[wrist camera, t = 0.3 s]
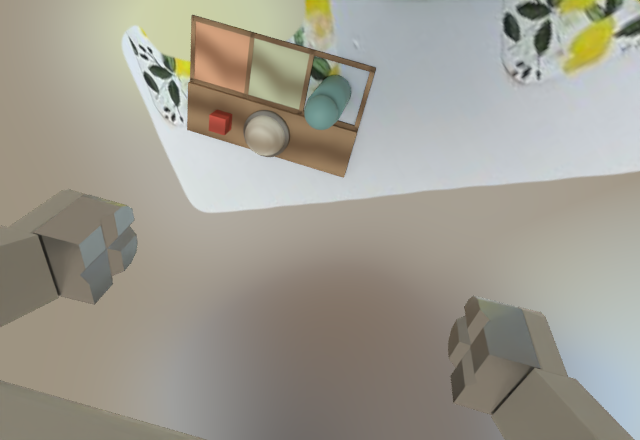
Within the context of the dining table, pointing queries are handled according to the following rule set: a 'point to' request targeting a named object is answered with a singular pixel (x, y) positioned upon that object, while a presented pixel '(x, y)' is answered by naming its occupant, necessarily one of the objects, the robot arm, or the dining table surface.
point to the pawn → (327, 102)
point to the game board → (263, 96)
